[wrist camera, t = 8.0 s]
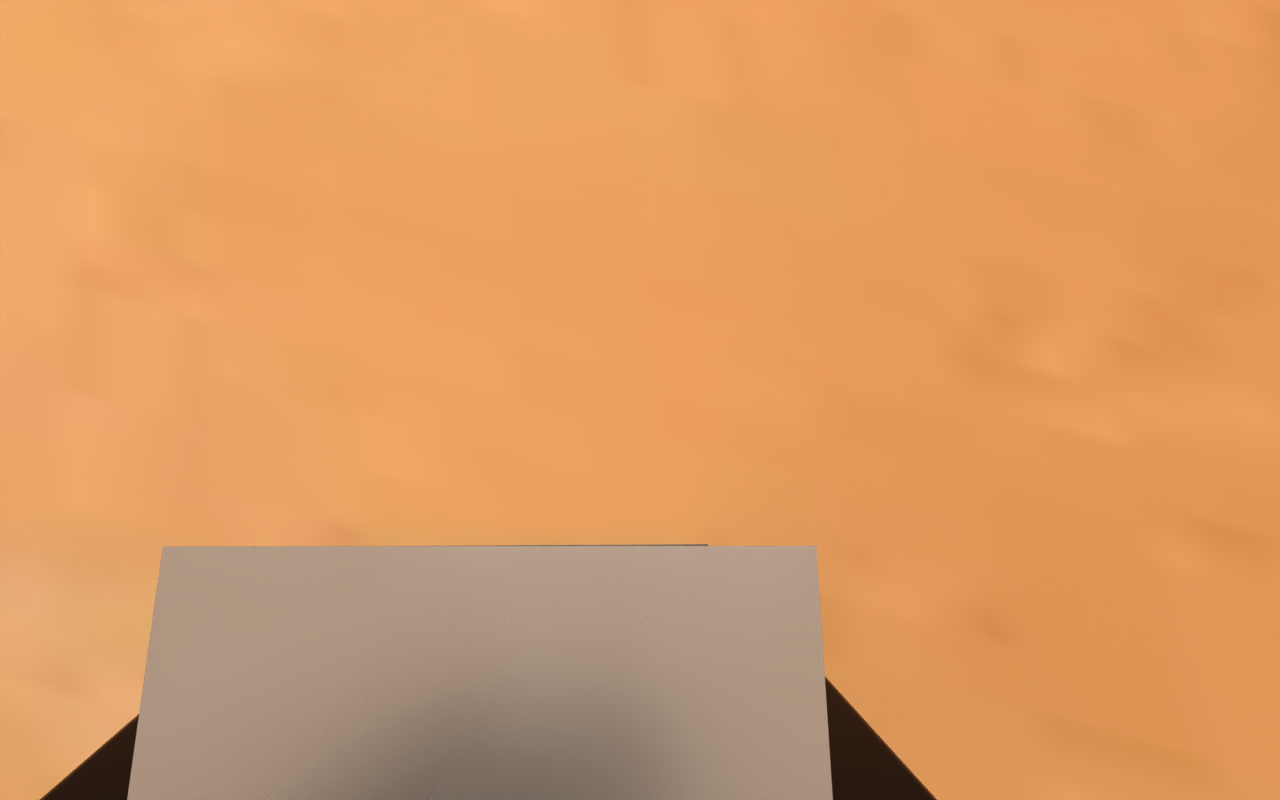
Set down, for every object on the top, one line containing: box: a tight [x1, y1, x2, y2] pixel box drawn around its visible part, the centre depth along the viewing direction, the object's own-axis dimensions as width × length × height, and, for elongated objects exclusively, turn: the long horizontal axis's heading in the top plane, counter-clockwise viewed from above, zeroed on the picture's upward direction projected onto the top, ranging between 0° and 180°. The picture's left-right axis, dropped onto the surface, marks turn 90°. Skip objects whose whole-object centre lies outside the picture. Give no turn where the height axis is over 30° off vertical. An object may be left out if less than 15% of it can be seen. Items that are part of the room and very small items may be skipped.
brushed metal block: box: [127, 546, 833, 800], centre depth 10 cm, size 5×5×9 cm
